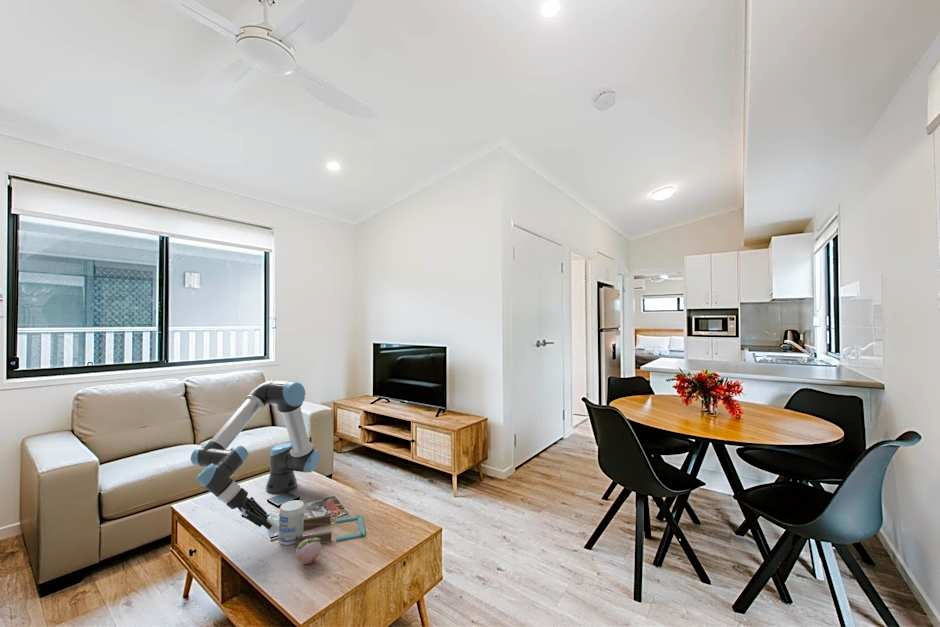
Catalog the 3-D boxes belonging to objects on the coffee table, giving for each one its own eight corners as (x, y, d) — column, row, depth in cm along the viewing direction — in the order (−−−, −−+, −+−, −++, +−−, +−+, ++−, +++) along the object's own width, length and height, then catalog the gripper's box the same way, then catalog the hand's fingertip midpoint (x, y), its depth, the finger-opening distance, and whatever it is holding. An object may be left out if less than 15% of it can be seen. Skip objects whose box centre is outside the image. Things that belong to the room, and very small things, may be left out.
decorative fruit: (313, 553, 157) (314, 528, 157) (324, 562, 152) (325, 536, 152) (290, 564, 150) (291, 538, 150) (301, 574, 145) (301, 547, 145)
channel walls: (297, 527, 176) (297, 519, 176) (330, 522, 181) (330, 514, 181) (295, 547, 161) (295, 539, 161) (331, 541, 166) (331, 533, 166)
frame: (334, 520, 182) (334, 519, 182) (361, 516, 186) (361, 514, 186) (336, 541, 166) (336, 539, 166) (365, 536, 170) (365, 534, 170)
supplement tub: (276, 547, 160) (277, 512, 160) (280, 534, 169) (281, 501, 169) (302, 544, 163) (302, 509, 163) (304, 531, 172) (305, 498, 172)
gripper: (229, 495, 163) (271, 529, 168) (221, 510, 150) (267, 547, 156) (244, 481, 164) (285, 515, 170) (237, 495, 152) (282, 532, 158)
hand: (276, 530), depth 163 cm, fingers closed
